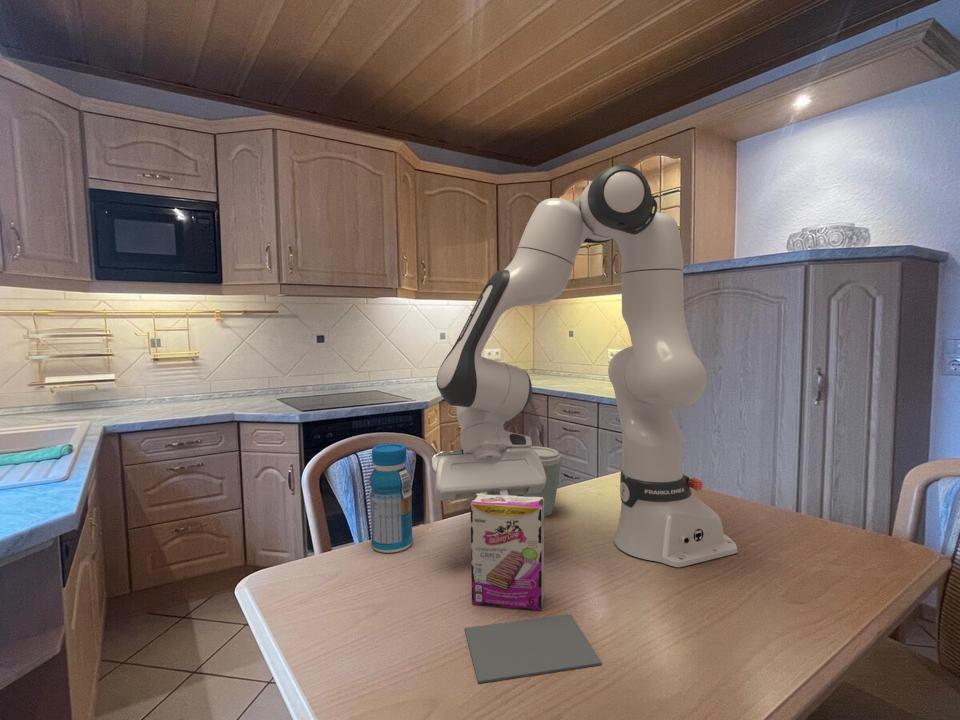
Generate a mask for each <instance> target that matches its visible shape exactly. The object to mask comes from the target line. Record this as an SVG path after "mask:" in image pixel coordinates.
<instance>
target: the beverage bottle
mask: <svg viewBox="0 0 960 720" xmlns="http://www.w3.org/2000/svg"><path fill="white" fill-rule="evenodd" d="M407 456H408V455H407V447H406V445H404V444H401V443H384V444H383V443H382V444H378V445H375V446H373V448H372V449H371V460H372V465H373V466H374V468H373V470H372V472H371V475H370V477H369V480H368V481H369V482H368V484H369V486H370V489H369V493H368V499H369V505H370V528H371V530H370V531H371V532H370V533H371V546H372V549H373V550H375V551H377V552H380V553H382V554H383V553H385V554H390V553H398V552H402V551H404V550H406V549H408V548H409V547H411V545H413V540H414V538H413V517H412V516H413V513H412V512H413V511H412V510H413V509H412V497H413V490H412V488H411V486H410V483H411V482H412V479H411V478H412V477H411V475H410V471H409V470H408V468H407V467H406V466H405V464H406V463H407Z"/></svg>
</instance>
